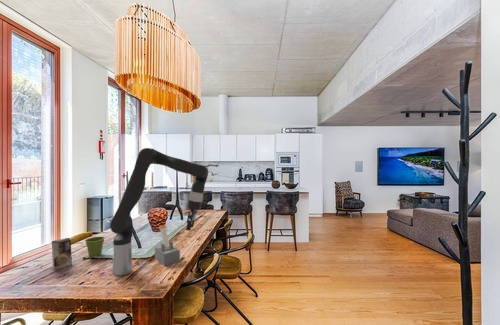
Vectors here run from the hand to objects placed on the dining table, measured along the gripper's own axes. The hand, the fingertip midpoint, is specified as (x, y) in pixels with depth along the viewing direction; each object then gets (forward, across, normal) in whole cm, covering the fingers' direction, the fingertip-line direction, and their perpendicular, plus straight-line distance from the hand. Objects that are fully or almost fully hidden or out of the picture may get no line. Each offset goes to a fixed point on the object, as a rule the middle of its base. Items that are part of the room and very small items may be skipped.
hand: (189, 228), depth 141 cm
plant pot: (+38, -38, -65) cm, 84 cm away
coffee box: (+42, -22, -76) cm, 89 cm away
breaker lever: (+20, -23, -15) cm, 34 cm away
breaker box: (+28, -24, -14) cm, 39 cm away
